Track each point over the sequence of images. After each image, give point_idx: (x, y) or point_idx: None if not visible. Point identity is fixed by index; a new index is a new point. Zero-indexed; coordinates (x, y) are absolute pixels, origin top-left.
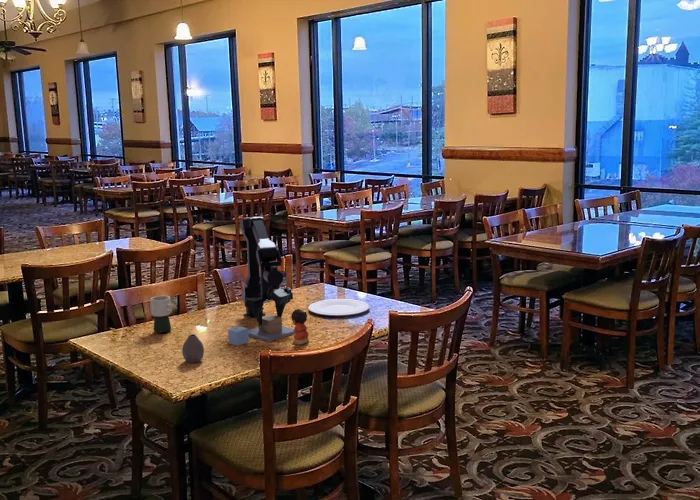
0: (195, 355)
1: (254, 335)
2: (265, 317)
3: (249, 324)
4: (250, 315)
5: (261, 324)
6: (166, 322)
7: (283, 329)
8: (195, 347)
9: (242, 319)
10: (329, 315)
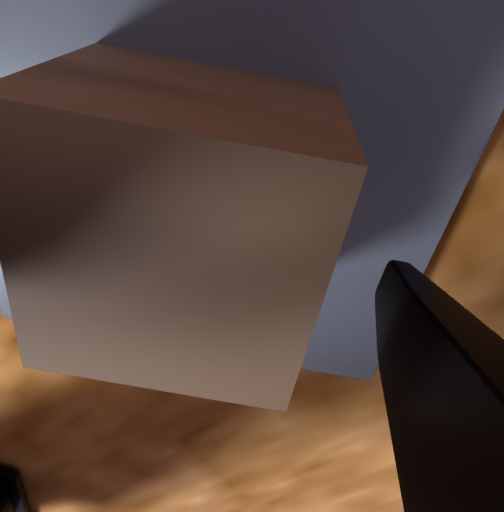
0: None
1: (437, 239)
2: (202, 348)
3: (128, 434)
4: (10, 500)
5: (405, 262)
6: None
7: (52, 55)
8: None
9: (83, 499)
10: None
